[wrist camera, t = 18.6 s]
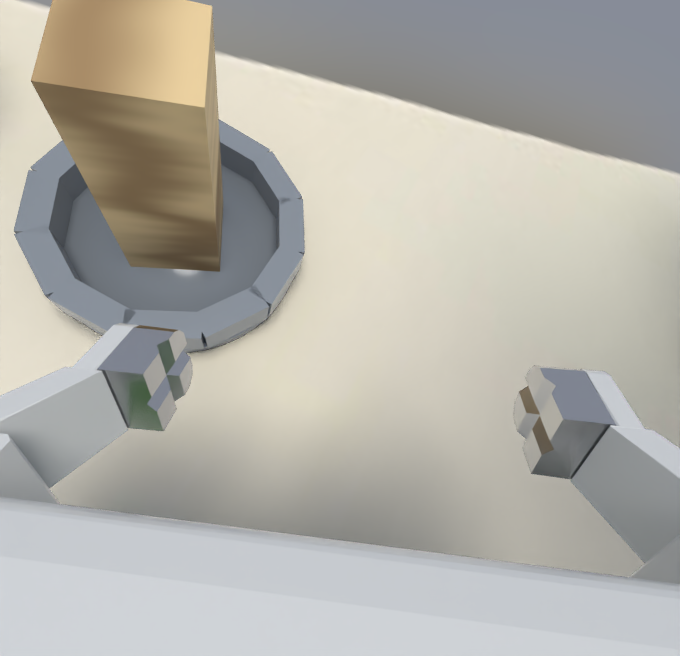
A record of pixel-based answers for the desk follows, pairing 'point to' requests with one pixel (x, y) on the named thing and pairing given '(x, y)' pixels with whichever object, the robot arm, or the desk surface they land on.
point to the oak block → (140, 121)
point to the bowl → (158, 283)
